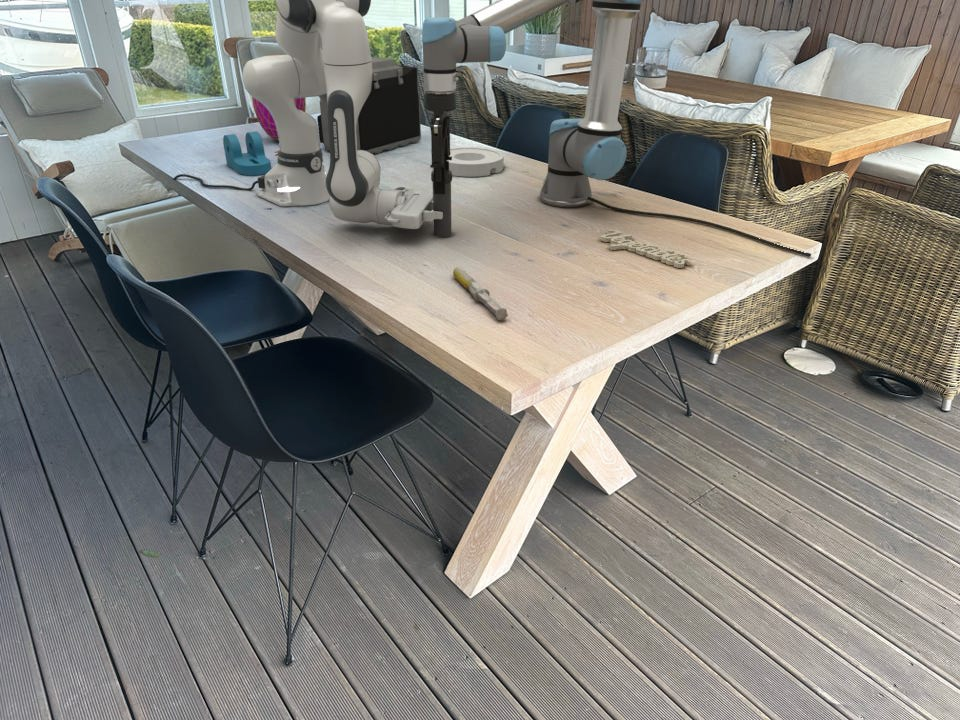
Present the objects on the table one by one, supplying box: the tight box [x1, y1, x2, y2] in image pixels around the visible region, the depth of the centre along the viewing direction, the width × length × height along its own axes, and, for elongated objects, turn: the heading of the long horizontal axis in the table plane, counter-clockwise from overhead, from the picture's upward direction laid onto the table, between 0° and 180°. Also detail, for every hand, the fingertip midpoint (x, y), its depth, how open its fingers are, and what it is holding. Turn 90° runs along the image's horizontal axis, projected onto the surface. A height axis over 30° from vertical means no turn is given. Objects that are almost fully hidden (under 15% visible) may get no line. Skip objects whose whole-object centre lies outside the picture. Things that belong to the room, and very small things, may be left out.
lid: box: [430, 169, 453, 183], centre depth 170 cm, size 5×5×2 cm
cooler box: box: [316, 56, 422, 155], centre depth 250 cm, size 37×22×30 cm, turn 144°
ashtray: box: [447, 146, 505, 178], centre depth 232 cm, size 23×23×4 cm
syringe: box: [452, 266, 509, 321], centre depth 145 cm, size 25×4×3 cm, turn 21°
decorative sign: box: [600, 229, 691, 269], centre depth 168 cm, size 26×1×10 cm
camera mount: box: [222, 131, 272, 176], centre depth 226 cm, size 18×10×10 cm, turn 35°
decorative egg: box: [251, 54, 307, 141], centre depth 257 cm, size 19×19×30 cm
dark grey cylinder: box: [432, 181, 453, 238], centre depth 173 cm, size 5×5×16 cm
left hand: (445, 211), depth 174 cm, fingers closed on dark grey cylinder, 4 cm apart
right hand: (441, 190), depth 171 cm, fingers closed on lid, 5 cm apart
